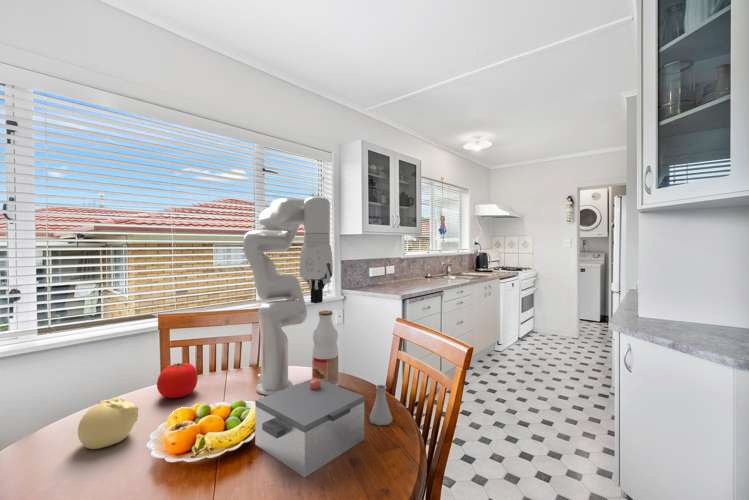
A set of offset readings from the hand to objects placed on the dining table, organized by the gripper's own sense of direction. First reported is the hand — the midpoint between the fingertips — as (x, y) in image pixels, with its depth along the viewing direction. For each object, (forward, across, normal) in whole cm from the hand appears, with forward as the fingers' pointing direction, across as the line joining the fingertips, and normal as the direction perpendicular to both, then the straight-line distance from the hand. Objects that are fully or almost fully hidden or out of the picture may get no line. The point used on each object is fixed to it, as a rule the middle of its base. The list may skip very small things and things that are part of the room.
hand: (316, 302), depth 101 cm
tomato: (+35, -50, -19) cm, 64 cm away
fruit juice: (+35, -16, +18) cm, 43 cm away
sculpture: (+35, -34, -42) cm, 65 cm away
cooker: (+35, +7, -8) cm, 37 cm away
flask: (+35, +14, +13) cm, 40 cm away
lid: (+25, +8, -8) cm, 27 cm away
